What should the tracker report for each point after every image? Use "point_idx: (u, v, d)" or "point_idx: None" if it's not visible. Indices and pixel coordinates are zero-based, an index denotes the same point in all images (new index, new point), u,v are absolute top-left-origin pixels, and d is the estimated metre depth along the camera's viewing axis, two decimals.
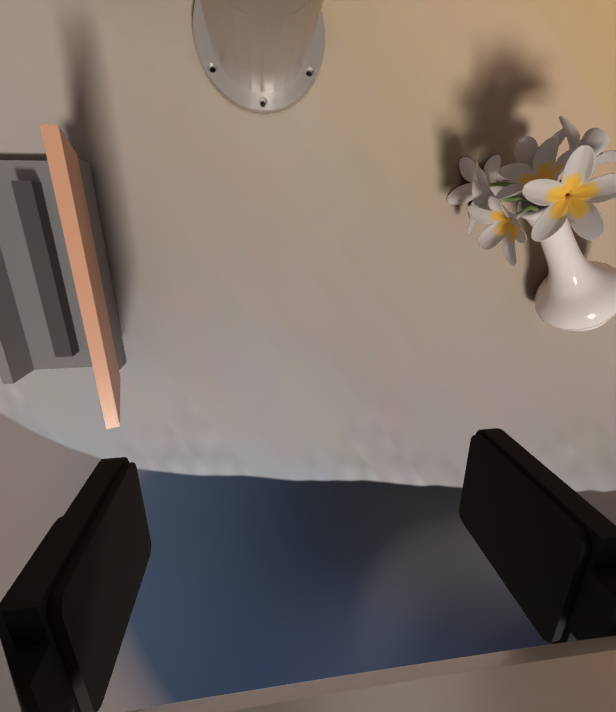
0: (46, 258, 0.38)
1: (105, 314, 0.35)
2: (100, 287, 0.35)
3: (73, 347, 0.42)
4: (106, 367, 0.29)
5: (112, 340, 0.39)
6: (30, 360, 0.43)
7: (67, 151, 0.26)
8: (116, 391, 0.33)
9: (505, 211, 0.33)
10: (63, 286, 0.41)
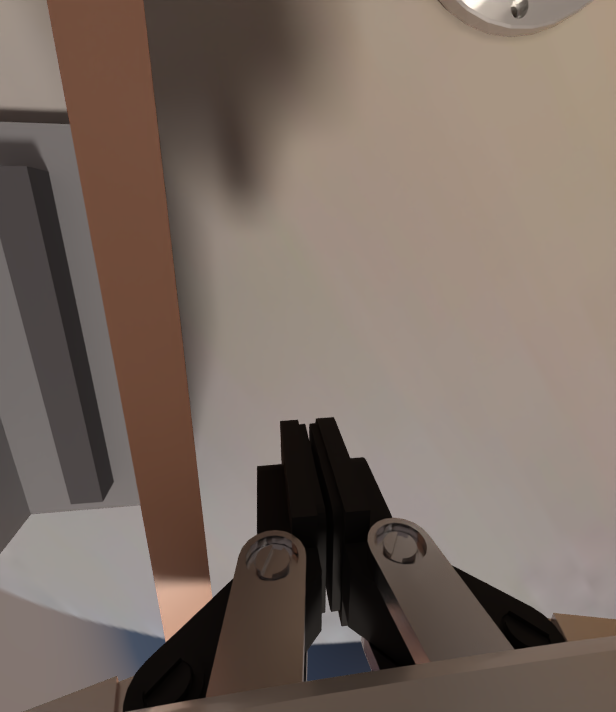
0: (58, 328, 0.18)
1: None
2: None
3: (105, 482, 0.22)
4: None
5: None
6: (23, 501, 0.23)
7: None
8: None
9: None
10: (88, 374, 0.21)
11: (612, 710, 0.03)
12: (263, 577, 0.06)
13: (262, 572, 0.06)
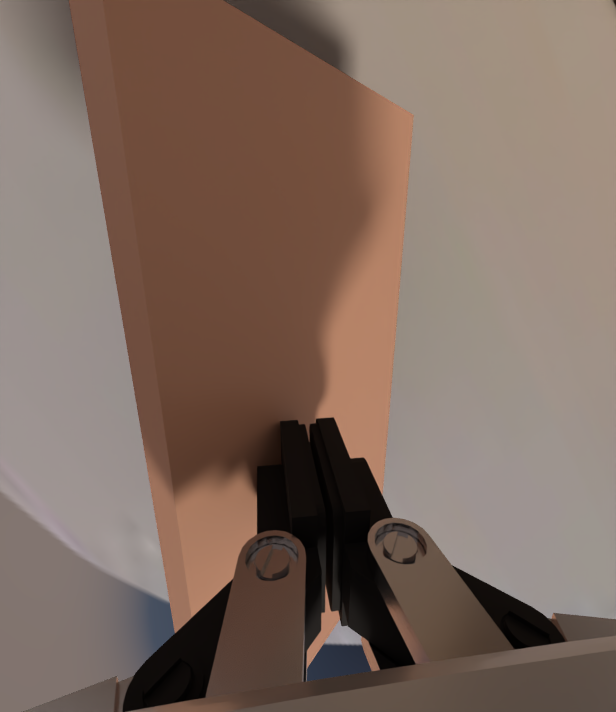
0: None
1: None
2: (359, 422, 0.15)
3: None
4: None
5: None
6: None
7: (242, 77, 0.07)
8: None
9: None
10: None
11: (612, 710, 0.03)
12: (263, 577, 0.06)
13: (262, 572, 0.06)
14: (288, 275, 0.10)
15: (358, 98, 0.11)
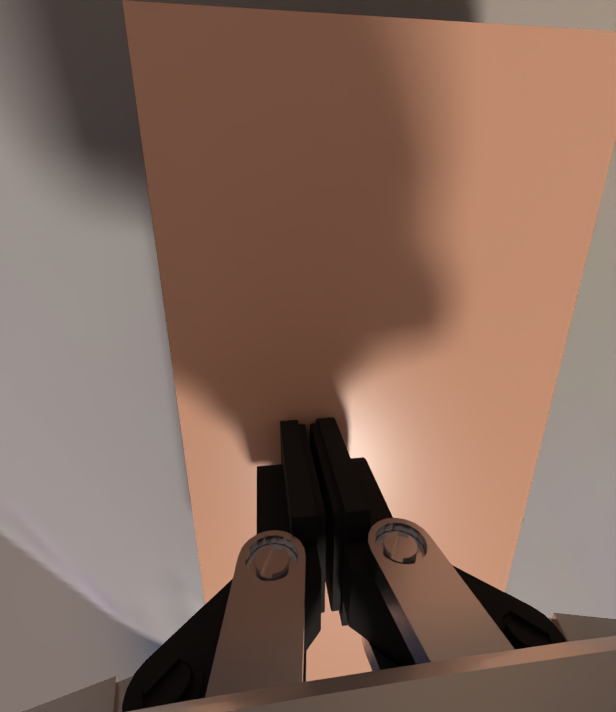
0: None
1: (435, 524, 0.13)
2: (455, 463, 0.12)
3: None
4: (205, 602, 0.13)
5: None
6: None
7: (264, 72, 0.08)
8: None
9: None
10: None
11: (612, 710, 0.03)
12: (263, 577, 0.06)
13: (262, 572, 0.06)
14: (324, 266, 0.09)
15: (473, 44, 0.08)
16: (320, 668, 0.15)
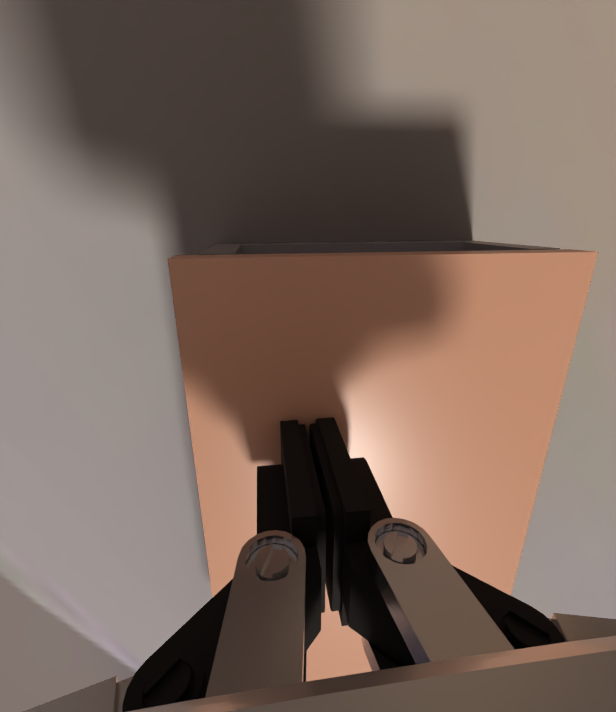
0: None
1: None
2: None
3: None
4: None
5: None
6: None
7: (282, 300, 0.10)
8: None
9: None
10: None
11: (612, 710, 0.03)
12: (263, 577, 0.06)
13: (262, 572, 0.06)
14: None
15: (455, 269, 0.10)
16: None
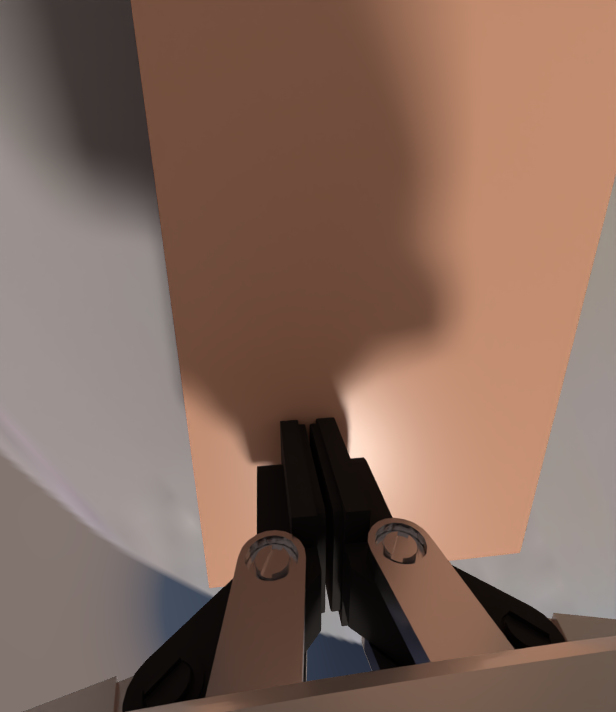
0: None
1: (464, 362, 0.11)
2: (492, 275, 0.10)
3: None
4: (192, 454, 0.11)
5: (523, 451, 0.12)
6: None
7: None
8: None
9: None
10: None
11: (612, 710, 0.03)
12: (263, 577, 0.06)
13: (262, 572, 0.06)
14: None
15: None
16: None
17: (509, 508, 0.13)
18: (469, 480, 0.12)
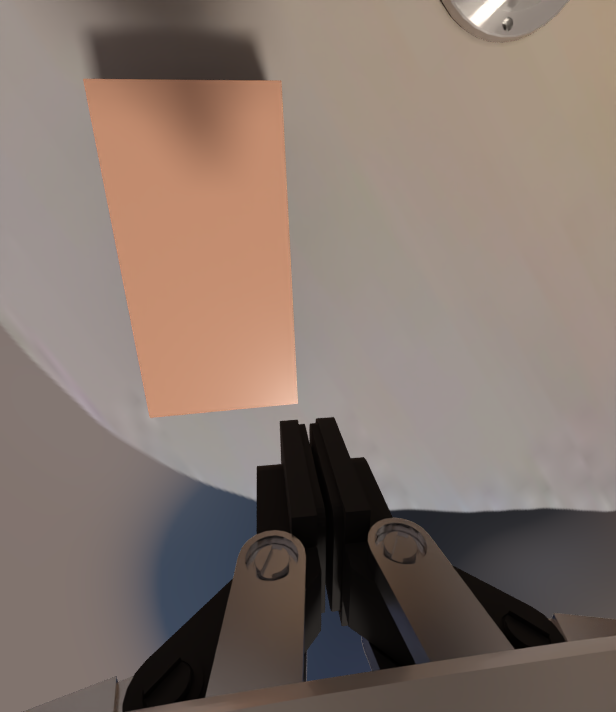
0: None
1: (246, 309, 0.27)
2: (249, 274, 0.26)
3: None
4: (137, 351, 0.27)
5: (284, 350, 0.28)
6: None
7: (135, 100, 0.22)
8: (192, 392, 0.28)
9: None
10: None
11: (612, 710, 0.03)
12: (263, 577, 0.06)
13: (262, 572, 0.06)
14: (169, 175, 0.23)
15: (214, 87, 0.22)
16: (202, 400, 0.29)
17: (285, 379, 0.29)
18: (262, 364, 0.28)
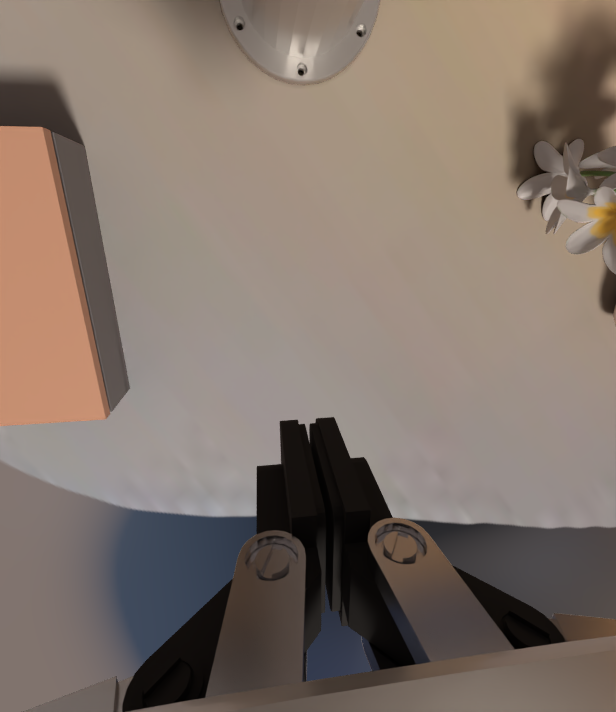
0: None
1: (41, 333, 0.29)
2: (38, 301, 0.28)
3: None
4: None
5: (84, 370, 0.30)
6: None
7: None
8: None
9: None
10: None
11: (612, 710, 0.03)
12: (263, 577, 0.06)
13: (262, 572, 0.06)
14: None
15: None
16: (9, 414, 0.31)
17: (90, 397, 0.31)
18: (64, 383, 0.30)
